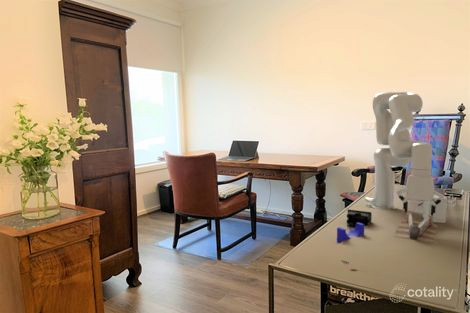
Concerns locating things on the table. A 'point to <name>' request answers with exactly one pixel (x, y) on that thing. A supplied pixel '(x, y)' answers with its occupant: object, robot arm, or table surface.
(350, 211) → the end cap
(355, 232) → the blue cradle stand
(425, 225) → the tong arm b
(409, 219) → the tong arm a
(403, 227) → the tong board
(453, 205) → the eyeglasses
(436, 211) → the supplement box
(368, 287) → the table surface
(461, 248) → the table surface
